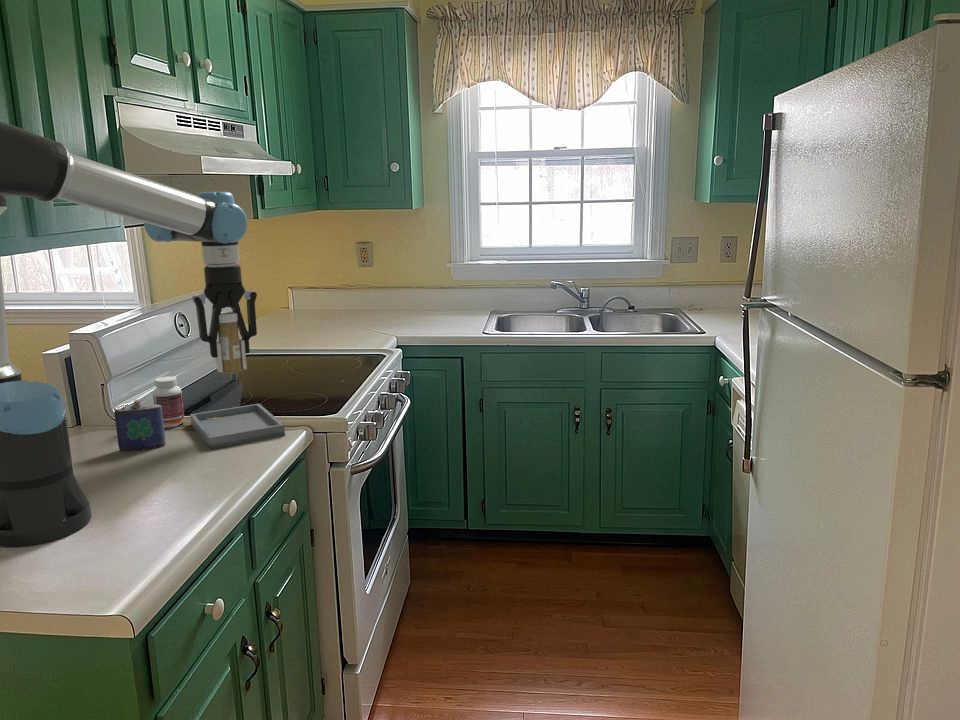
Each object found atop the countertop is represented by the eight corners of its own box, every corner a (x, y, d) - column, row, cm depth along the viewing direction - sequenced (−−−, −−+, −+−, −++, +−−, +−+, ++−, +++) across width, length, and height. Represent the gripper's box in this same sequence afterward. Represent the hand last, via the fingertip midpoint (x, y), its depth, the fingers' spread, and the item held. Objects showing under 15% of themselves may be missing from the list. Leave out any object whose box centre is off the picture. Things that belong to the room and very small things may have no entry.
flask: (166, 443, 164) (160, 395, 162) (166, 447, 162) (160, 399, 159) (119, 449, 161) (112, 400, 158) (118, 453, 158) (111, 404, 156)
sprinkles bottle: (245, 372, 168) (240, 313, 165) (224, 375, 166) (218, 315, 163) (239, 368, 172) (234, 310, 169) (218, 371, 170) (213, 312, 167)
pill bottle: (190, 422, 178) (185, 377, 175) (167, 430, 173) (162, 383, 170) (173, 418, 181) (168, 374, 179) (150, 425, 176) (145, 380, 174)
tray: (210, 449, 160) (209, 438, 159) (191, 424, 177) (190, 414, 176) (285, 435, 168) (284, 424, 167) (259, 413, 185) (259, 403, 184)
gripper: (182, 269, 156) (194, 378, 162) (267, 263, 165) (275, 367, 170) (176, 266, 162) (187, 371, 168) (257, 260, 171) (266, 361, 177)
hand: (231, 369), depth 169 cm, fingers closed on sprinkles bottle, 4 cm apart
